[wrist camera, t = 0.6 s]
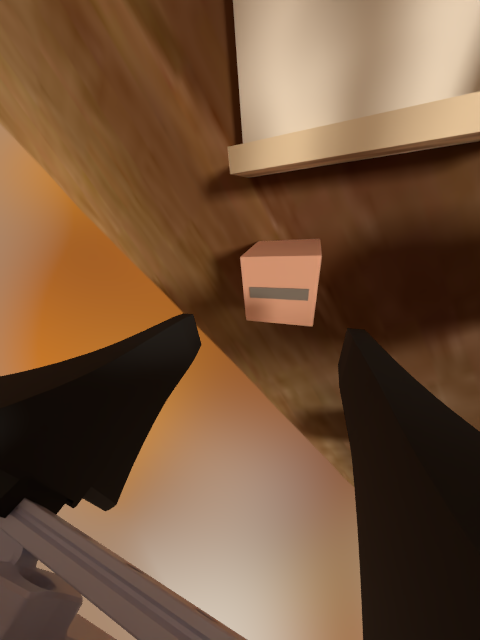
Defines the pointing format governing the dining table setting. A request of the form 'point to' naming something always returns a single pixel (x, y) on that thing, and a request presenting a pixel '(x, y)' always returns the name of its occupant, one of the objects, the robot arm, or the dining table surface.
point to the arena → (353, 80)
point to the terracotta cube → (281, 281)
